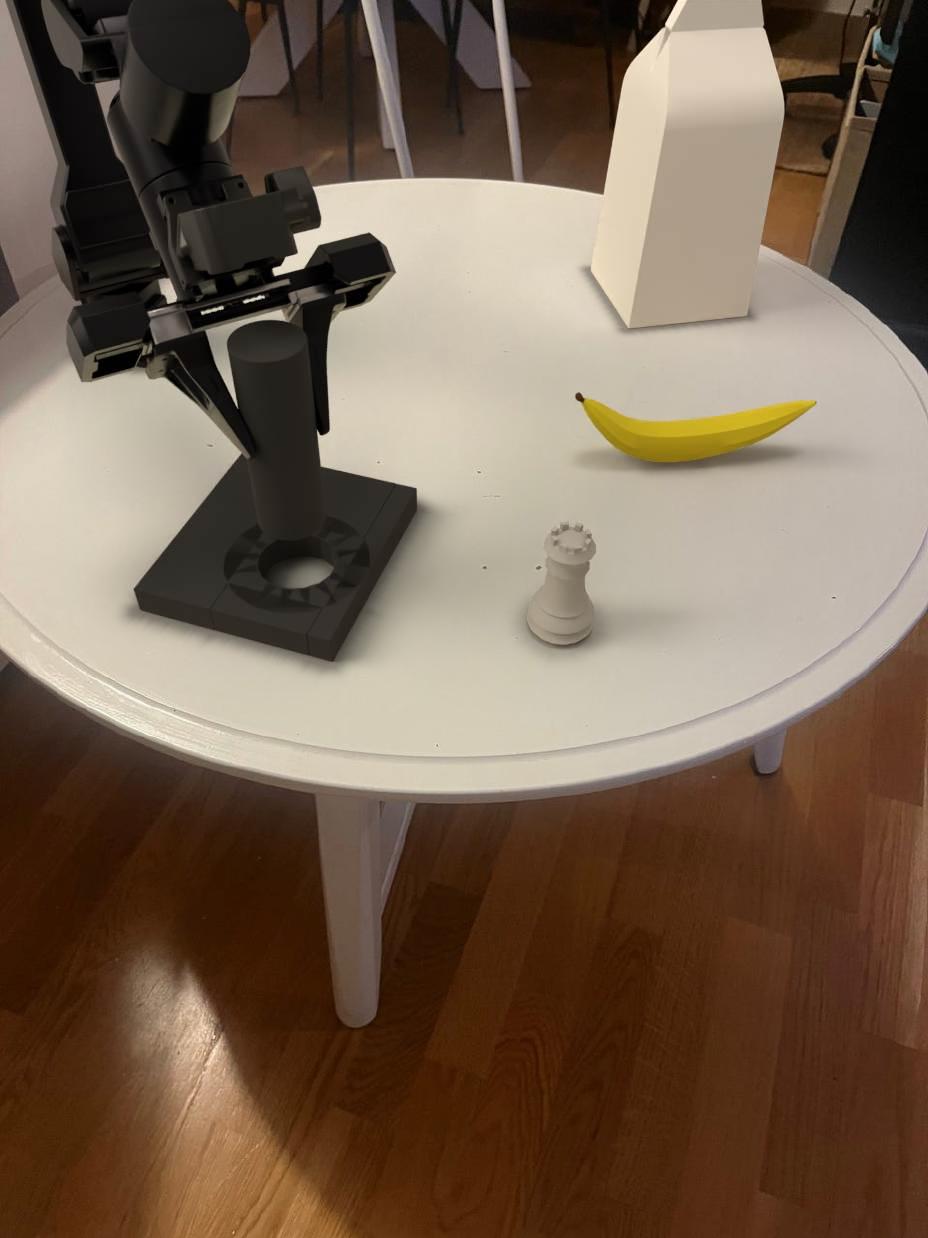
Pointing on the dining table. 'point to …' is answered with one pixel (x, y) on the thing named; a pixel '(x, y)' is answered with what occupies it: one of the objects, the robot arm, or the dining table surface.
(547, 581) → the rook chess piece
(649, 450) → the banana
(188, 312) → the robot arm
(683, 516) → the dining table surface
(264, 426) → the post
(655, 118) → the milk
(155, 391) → the dining table surface
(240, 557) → the socket pad
